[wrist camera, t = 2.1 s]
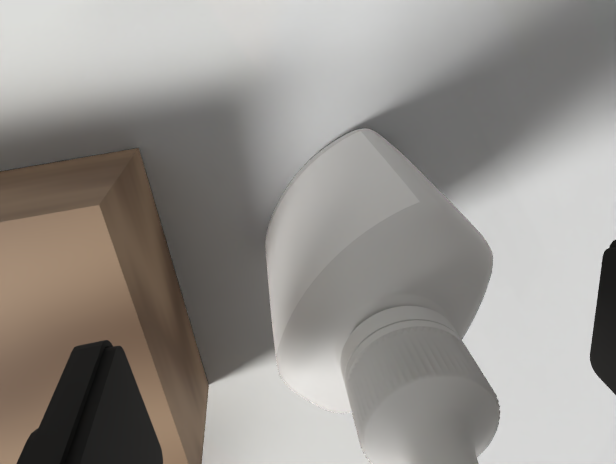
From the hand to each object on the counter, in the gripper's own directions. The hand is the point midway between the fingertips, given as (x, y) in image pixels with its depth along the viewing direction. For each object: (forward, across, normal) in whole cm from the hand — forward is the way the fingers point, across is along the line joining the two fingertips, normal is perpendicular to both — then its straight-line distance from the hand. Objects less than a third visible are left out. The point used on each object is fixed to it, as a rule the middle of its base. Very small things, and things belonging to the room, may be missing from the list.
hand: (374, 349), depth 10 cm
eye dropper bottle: (+9, -1, +1) cm, 9 cm away
